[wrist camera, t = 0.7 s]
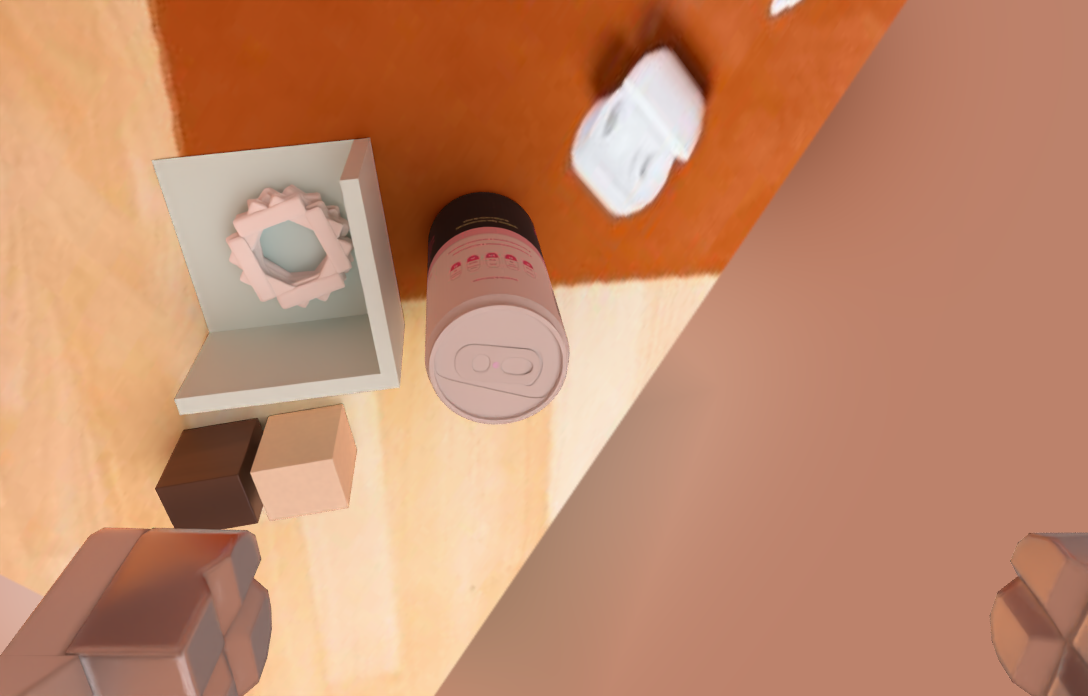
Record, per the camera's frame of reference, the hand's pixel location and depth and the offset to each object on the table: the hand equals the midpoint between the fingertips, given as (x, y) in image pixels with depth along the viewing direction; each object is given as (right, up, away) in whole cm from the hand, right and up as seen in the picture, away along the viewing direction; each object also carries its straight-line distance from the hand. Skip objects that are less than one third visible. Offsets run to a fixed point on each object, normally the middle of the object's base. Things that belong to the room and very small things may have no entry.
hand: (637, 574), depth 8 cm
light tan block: (-17, -3, +44) cm, 48 cm away
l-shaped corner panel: (-16, +8, +38) cm, 42 cm away
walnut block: (-22, -4, +44) cm, 50 cm away
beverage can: (-5, +9, +39) cm, 40 cm away
